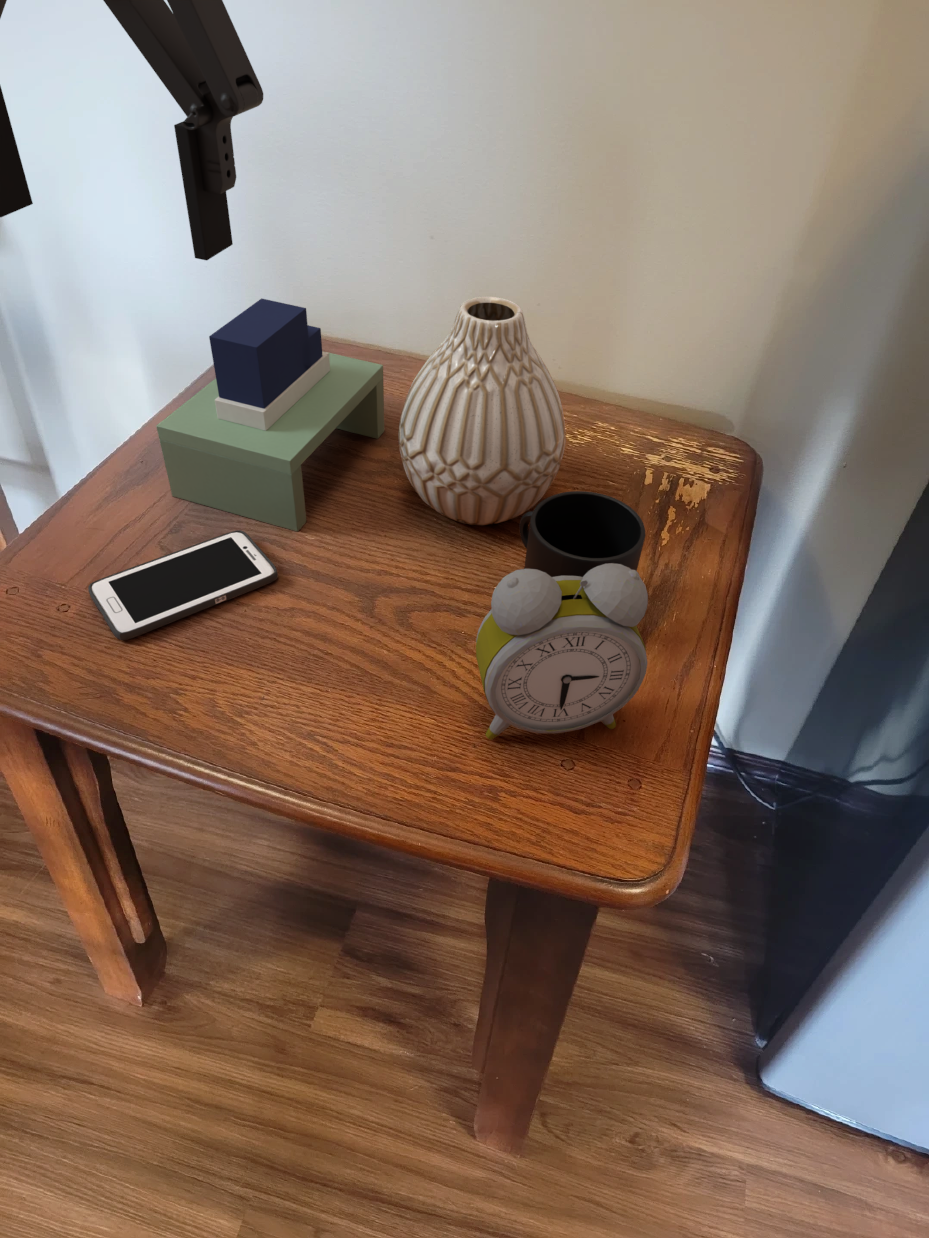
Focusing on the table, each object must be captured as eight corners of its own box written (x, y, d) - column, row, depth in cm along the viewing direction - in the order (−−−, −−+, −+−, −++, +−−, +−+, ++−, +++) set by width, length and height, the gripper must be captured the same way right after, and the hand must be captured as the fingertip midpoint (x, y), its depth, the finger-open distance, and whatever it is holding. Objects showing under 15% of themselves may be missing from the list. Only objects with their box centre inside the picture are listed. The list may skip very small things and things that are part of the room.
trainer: (266, 431, 79) (255, 350, 73) (217, 418, 80) (203, 338, 75) (330, 370, 88) (325, 294, 82) (285, 360, 89) (277, 284, 84)
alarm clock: (479, 756, 63) (494, 608, 53) (465, 687, 68) (476, 539, 57) (629, 742, 65) (673, 596, 54) (606, 676, 69) (641, 530, 59)
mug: (551, 544, 82) (563, 464, 75) (647, 610, 75) (669, 529, 69) (478, 584, 77) (485, 503, 71) (575, 659, 71) (592, 577, 64)
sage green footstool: (172, 496, 84) (155, 425, 79) (273, 403, 98) (265, 338, 92) (297, 532, 81) (290, 461, 76) (384, 431, 95) (383, 364, 89)
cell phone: (86, 592, 73) (83, 584, 73) (243, 535, 80) (242, 527, 79) (119, 645, 69) (116, 637, 68) (282, 580, 76) (281, 571, 75)
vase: (419, 447, 93) (422, 262, 79) (563, 469, 91) (592, 284, 77) (380, 534, 81) (375, 336, 68) (544, 561, 80) (574, 364, 66)
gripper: (312, -290, 34) (335, 247, 49) (-173, -317, 39) (-21, 177, 54) (211, -314, 29) (271, 295, 44) (-333, -342, 34) (-117, 212, 49)
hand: (110, 230), depth 49 cm, fingers open, 13 cm apart
